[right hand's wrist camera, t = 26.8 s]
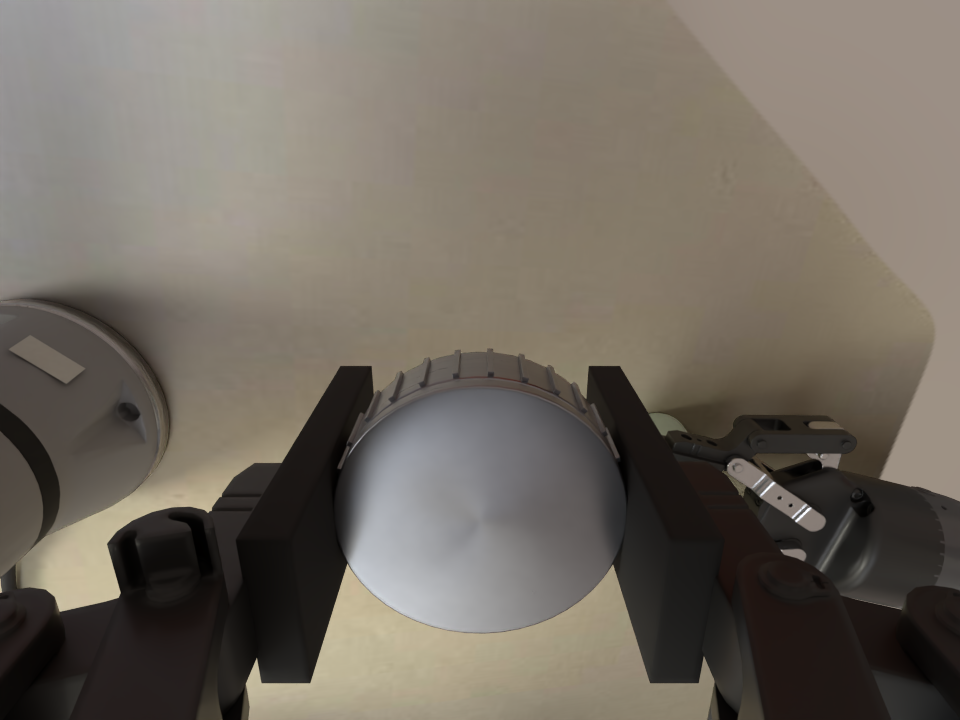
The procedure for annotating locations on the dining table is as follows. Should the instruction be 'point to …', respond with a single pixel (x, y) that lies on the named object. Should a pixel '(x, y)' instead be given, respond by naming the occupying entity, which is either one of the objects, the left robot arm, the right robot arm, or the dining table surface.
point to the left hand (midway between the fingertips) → (641, 485)
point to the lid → (480, 494)
